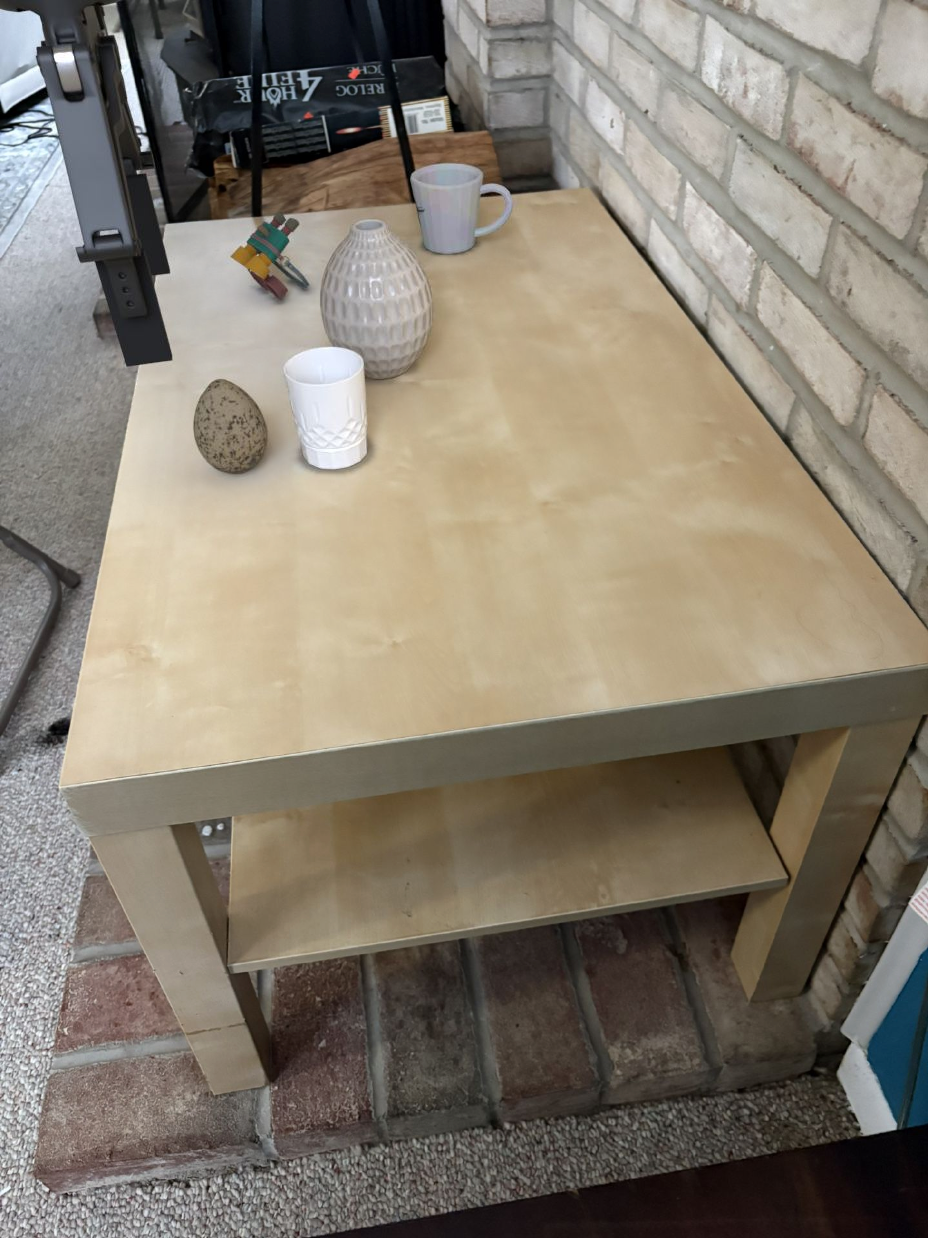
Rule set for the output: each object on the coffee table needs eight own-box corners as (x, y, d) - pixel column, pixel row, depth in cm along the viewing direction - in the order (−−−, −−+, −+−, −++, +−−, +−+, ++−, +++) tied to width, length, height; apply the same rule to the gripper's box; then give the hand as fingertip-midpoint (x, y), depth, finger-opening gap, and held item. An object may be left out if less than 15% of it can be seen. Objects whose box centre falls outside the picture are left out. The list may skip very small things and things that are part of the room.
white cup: (326, 482, 93) (312, 393, 86) (283, 451, 97) (267, 364, 90) (388, 453, 96) (379, 365, 90) (344, 424, 101) (333, 338, 94)
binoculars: (265, 295, 131) (217, 246, 123) (306, 247, 131) (262, 194, 123) (297, 317, 126) (249, 267, 118) (340, 266, 126) (296, 212, 118)
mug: (423, 230, 142) (419, 160, 136) (518, 234, 140) (519, 164, 133) (407, 256, 135) (402, 184, 128) (507, 261, 132) (507, 188, 126)
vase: (331, 398, 105) (310, 252, 94) (327, 347, 114) (307, 208, 103) (443, 387, 106) (435, 241, 95) (429, 337, 115) (421, 199, 104)
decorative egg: (189, 472, 95) (165, 384, 88) (243, 442, 99) (223, 356, 92) (235, 496, 91) (213, 407, 85) (288, 464, 95) (271, 376, 89)
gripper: (106, -68, 38) (216, 396, 52) (123, -118, 56) (201, 238, 70) (-88, -55, 37) (79, 416, 51) (-8, -110, 54) (99, 250, 69)
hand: (150, 314), depth 61 cm, fingers open, 13 cm apart
